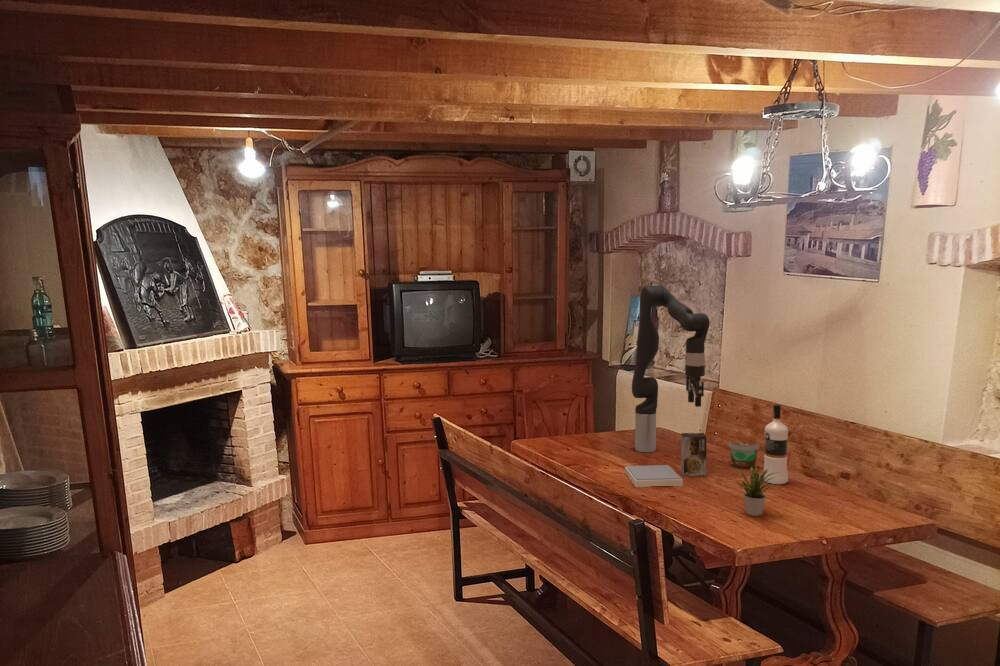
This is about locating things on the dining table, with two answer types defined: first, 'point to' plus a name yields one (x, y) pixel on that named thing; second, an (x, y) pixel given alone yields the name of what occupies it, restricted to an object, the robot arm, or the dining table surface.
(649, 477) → the podium
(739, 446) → the food container
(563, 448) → the dining table surface
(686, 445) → the coffee box
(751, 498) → the house plant
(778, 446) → the vodka
